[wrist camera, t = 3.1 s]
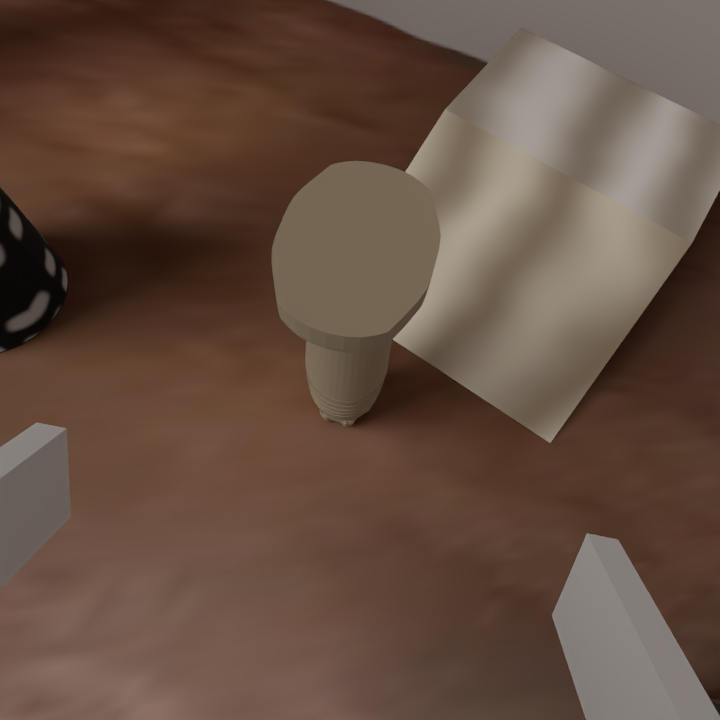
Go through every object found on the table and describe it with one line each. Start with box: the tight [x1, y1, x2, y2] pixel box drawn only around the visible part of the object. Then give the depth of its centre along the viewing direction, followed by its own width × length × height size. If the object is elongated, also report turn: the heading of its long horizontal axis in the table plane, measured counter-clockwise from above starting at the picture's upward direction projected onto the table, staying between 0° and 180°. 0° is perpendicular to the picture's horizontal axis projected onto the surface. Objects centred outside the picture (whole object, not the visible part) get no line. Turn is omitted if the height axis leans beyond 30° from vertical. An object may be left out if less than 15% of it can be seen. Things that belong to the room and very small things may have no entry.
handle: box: [272, 161, 441, 427], centre depth 22 cm, size 5×6×15 cm
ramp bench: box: [393, 28, 720, 443], centre depth 32 cm, size 16×22×8 cm
